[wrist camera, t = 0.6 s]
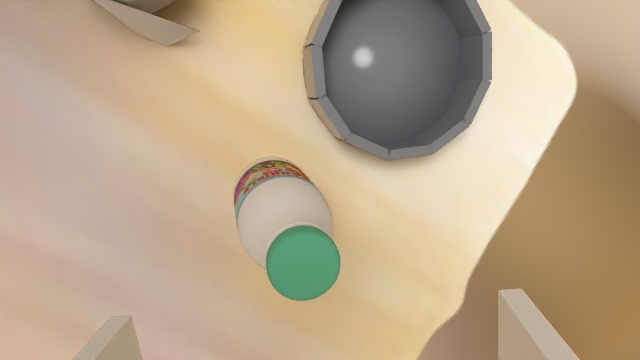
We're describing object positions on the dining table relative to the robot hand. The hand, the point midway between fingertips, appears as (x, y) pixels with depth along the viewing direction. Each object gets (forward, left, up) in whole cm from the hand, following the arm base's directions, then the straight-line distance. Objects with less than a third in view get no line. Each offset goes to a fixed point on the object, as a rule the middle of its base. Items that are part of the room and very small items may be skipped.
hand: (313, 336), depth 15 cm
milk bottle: (+2, -1, -31) cm, 31 cm away
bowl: (+8, +16, -30) cm, 35 cm away
